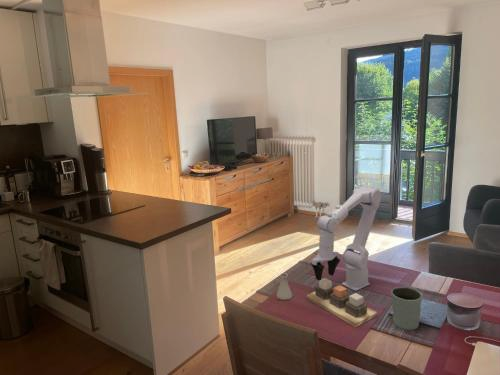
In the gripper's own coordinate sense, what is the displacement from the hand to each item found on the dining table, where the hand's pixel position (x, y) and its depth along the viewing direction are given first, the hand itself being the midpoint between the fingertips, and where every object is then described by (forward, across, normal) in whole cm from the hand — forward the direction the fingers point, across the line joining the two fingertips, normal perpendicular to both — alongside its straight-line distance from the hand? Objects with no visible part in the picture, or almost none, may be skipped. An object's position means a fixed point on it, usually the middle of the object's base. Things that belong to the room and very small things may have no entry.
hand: (324, 277), depth 151 cm
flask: (+11, +10, -13) cm, 20 cm away
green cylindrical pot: (+9, -9, +31) cm, 33 cm away
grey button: (+5, 0, +16) cm, 17 cm away
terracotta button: (+5, 0, +8) cm, 9 cm away
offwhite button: (+5, -1, 0) cm, 5 cm away
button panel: (+10, 0, +8) cm, 13 cm away
